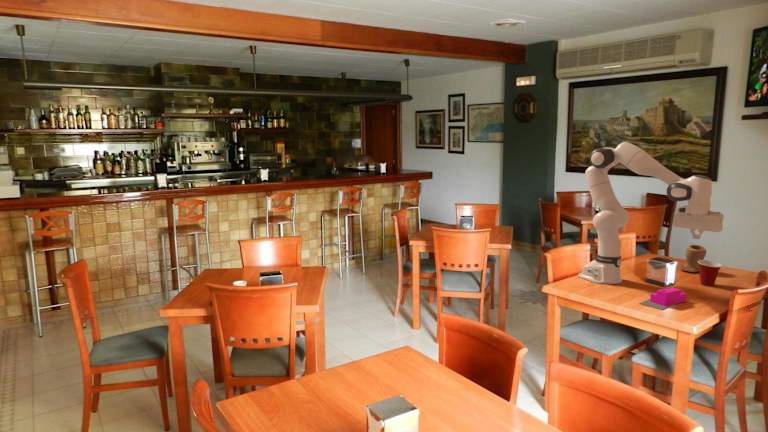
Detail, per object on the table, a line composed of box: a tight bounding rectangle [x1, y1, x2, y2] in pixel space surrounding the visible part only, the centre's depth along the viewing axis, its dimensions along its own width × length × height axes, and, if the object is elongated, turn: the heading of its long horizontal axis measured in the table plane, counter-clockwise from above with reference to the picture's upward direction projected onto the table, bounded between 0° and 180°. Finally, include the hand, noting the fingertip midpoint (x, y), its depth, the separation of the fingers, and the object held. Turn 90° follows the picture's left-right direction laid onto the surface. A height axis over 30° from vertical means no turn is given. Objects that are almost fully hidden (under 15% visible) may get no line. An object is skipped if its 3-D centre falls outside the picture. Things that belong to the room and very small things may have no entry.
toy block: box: [649, 287, 687, 306], centre depth 237 cm, size 15×6×8 cm
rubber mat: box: [638, 298, 675, 311], centre depth 238 cm, size 10×24×1 cm, turn 127°
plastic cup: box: [698, 259, 723, 287], centre depth 261 cm, size 11×11×12 cm
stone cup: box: [678, 244, 707, 273], centre depth 287 cm, size 15×12×15 cm
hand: (696, 238), depth 238 cm, fingers closed
